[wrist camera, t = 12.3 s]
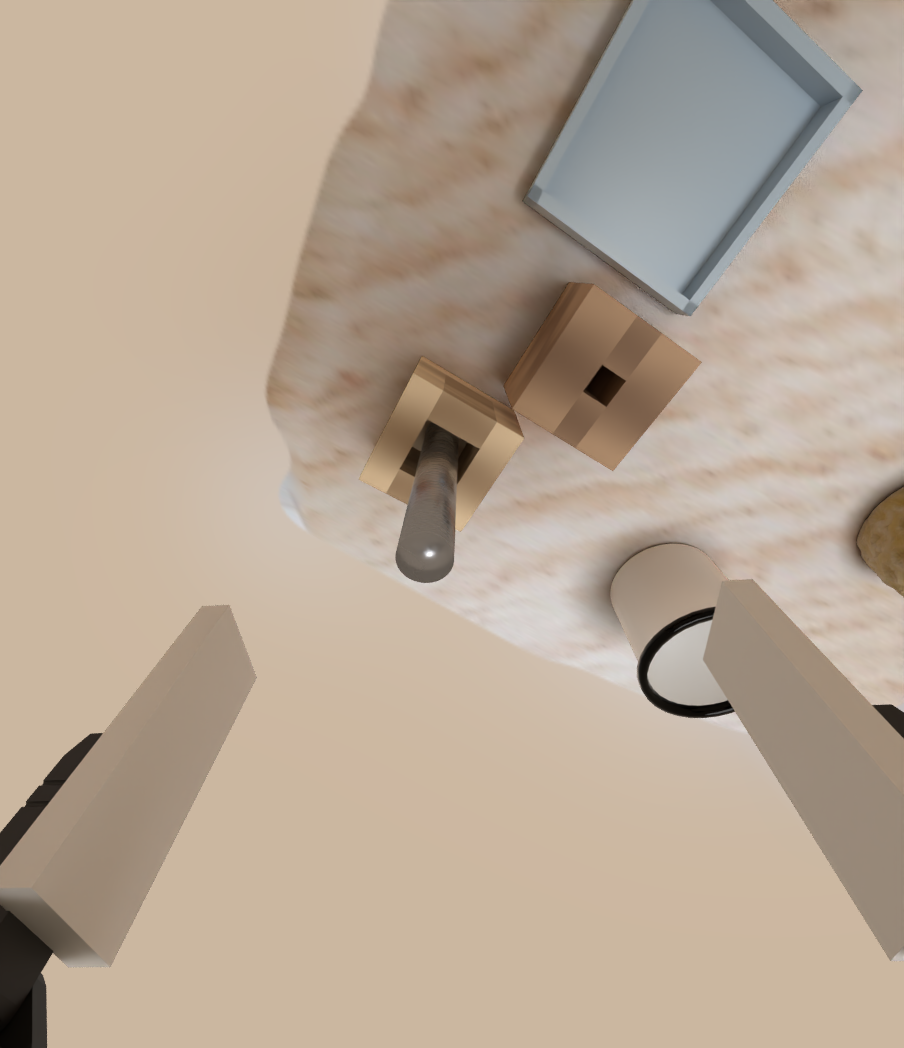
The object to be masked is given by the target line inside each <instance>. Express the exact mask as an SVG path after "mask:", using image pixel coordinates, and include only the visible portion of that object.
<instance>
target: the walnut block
mask: <svg viewBox="0 0 904 1048" xmlns="http://www.w3.org/2000/svg"><path fill="white" fill-rule="evenodd" d="M701 363H702V362H701V361H699V360H698V359H697V358H695V357H694V356H692V355H691V354H690V353H688V352H687V351H686V350H684V349H683V348H681V347H680V346H679V345H677V344H676V343H675V342H673V341H672V340H670V339H669V338H668V337H666V336H665V335H663V334H662V333H661V332H659V331H658V330H657V329H655V328H654V327H652V326H651V325H650V324H648V323H647V322H646V321H644V320H643V319H641V318H640V317H639V316H637V315H636V314H635V313H633V312H632V311H630V310H629V309H628V308H626V307H625V306H623V305H622V304H621V303H619V302H618V301H617V300H615V299H614V298H612V297H611V296H610V295H608V294H607V293H606V292H604V291H603V290H601V289H600V288H599V287H597V286H596V285H594V284H585V283H573V282H569V283H568V285H567V286H566V288H565V290H564V291H563V293H562V294H561V296H560V297H559V299H558V301H557V302H556V304H555V305H554V307H553V309H552V310H551V312H550V313H549V315H548V316H547V318H546V320H545V321H544V323H543V324H542V326H541V327H540V329H539V331H538V332H537V334H536V335H535V337H534V339H533V340H532V342H531V343H530V345H529V346H528V348H527V350H526V351H525V353H524V354H523V356H522V357H521V359H520V361H519V362H518V364H517V365H516V367H515V369H514V370H513V372H512V373H511V375H510V376H509V378H508V380H507V381H506V383H505V384H504V389H505V391H506V394H507V397H508V399H509V402H510V405H511V407H512V409H513V410H514V411H516V412H518V413H519V414H521V415H523V416H524V417H526V418H527V419H529V420H531V421H532V422H534V423H536V424H537V425H539V426H540V427H542V428H544V429H545V430H547V431H549V432H550V433H552V434H553V435H555V436H557V437H558V438H560V439H562V440H563V441H565V442H566V443H568V444H570V445H571V446H573V447H574V448H576V449H578V450H579V451H581V452H583V453H584V454H586V455H587V456H589V457H591V458H592V459H594V460H596V461H597V462H599V463H600V464H602V465H604V466H605V467H607V468H609V469H610V470H612V471H613V470H614V469H615V468H616V467H617V465H618V464H619V463H620V462H621V461H622V459H623V458H624V457H625V456H626V454H627V453H628V452H629V451H630V449H631V448H632V447H633V446H634V445H635V443H636V442H637V441H638V440H639V438H640V437H641V436H642V435H643V434H644V432H645V431H646V430H647V429H648V427H649V426H650V425H651V424H652V423H653V421H654V420H655V419H656V418H657V416H658V415H659V414H660V413H661V412H662V410H663V409H664V408H665V407H666V405H667V404H668V403H669V402H670V401H671V399H672V398H673V397H674V396H675V394H676V393H677V392H678V391H679V389H680V388H681V387H682V386H683V385H684V383H685V382H686V381H687V380H688V378H689V377H690V376H691V375H692V374H693V372H694V371H695V370H696V369H697V367H698V366H699V365H700V364H701Z"/></svg>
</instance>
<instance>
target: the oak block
mask: <svg viewBox="0 0 904 1048" xmlns="http://www.w3.org/2000/svg"><path fill="white" fill-rule="evenodd" d="M431 422H433V423H435V424H436V425H438V426H440V427H442V428H444V429H445V430H447V431H449V432H451V433H452V434H454V435H456V436H458V437H459V444H458V469H457V495H456V520H455V529H456V530H458V531H460V532H461V531H462V529H463V528H464V527H465V525H466V524H467V522H468V521H469V519H470V518H471V516H472V515H473V513H474V512H475V510H476V509H477V507H478V506H479V504H480V503H481V501H482V500H483V498H484V497H485V495H486V494H487V492H488V491H489V489H490V488H491V486H492V485H493V483H494V482H495V481H496V479H497V478H498V476H499V475H500V473H501V472H502V470H503V469H504V467H505V466H506V464H507V463H508V461H509V460H510V458H511V457H512V455H513V454H514V452H515V451H516V449H517V448H518V446H519V445H520V443H521V442H522V440H523V439H524V436H523V434H522V431H521V428H520V425H519V423H518V420H517V417H516V415H515V412H514V410H512V409H510V408H509V407H507V406H505V405H504V404H502V403H500V402H499V401H497V400H495V399H494V398H492V397H490V396H489V395H487V394H485V393H484V392H482V391H480V390H479V389H477V388H475V387H474V386H472V385H470V384H469V383H467V382H465V381H464V380H462V379H460V378H459V377H457V376H455V375H453V374H452V373H450V372H448V371H447V370H445V369H443V368H442V367H440V366H438V365H437V364H435V363H433V362H432V361H430V360H428V359H427V358H425V357H423V356H422V357H421V359H420V361H419V363H418V364H417V366H416V368H415V370H414V372H413V374H412V376H411V378H410V380H409V382H408V384H407V386H406V388H405V390H404V392H403V394H402V395H401V397H400V399H399V401H398V403H397V405H396V407H395V409H394V411H393V413H392V415H391V417H390V419H389V421H388V423H387V424H386V426H385V428H384V430H383V432H382V434H381V436H380V438H379V440H378V442H377V444H376V446H375V448H374V450H373V452H372V454H371V456H370V458H369V460H368V462H367V464H366V466H365V468H364V469H363V471H362V473H361V475H360V477H359V480H361V481H363V482H365V483H367V484H369V485H371V486H372V487H374V488H376V489H378V490H380V491H382V492H384V493H386V494H388V495H390V496H392V497H394V498H396V499H398V500H400V501H402V502H404V503H406V504H408V502H409V498H410V494H411V490H412V485H413V481H414V477H415V473H416V469H417V465H418V461H419V457H420V453H421V449H422V445H423V441H424V436H425V432H426V429H427V427H428V425H429V424H430V423H431Z"/></svg>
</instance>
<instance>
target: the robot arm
mask: <svg viewBox="0 0 904 1048" xmlns="http://www.w3.org/2000/svg"><path fill="white" fill-rule="evenodd" d="M703 661H704V662H705V664H706V666H707V667H708V669H709V670H710V672H711V674H712V675H713V677H714V678H715V680H716V682H717V683H718V685H719V686H720V688H721V690H722V691H723V693H724V695H725V696H726V698H727V699H728V701H729V703H730V704H731V706H732V707H733V709H734V711H735V712H736V714H737V715H738V717H739V719H740V720H741V722H742V723H743V725H744V727H745V728H746V730H747V731H748V733H749V735H750V736H751V738H752V739H753V741H754V743H755V744H756V746H757V747H758V749H759V751H760V752H761V754H762V755H763V757H764V759H765V760H766V762H767V764H768V765H769V767H770V768H771V770H772V771H773V773H774V775H775V776H776V778H777V779H778V781H779V783H780V784H781V786H782V788H783V789H784V791H785V792H786V794H787V796H788V797H789V799H790V800H791V802H792V804H793V805H794V807H795V808H796V810H797V812H798V813H799V815H800V816H801V818H802V820H803V821H804V823H805V825H806V826H807V828H808V829H809V831H810V833H811V834H812V836H813V837H814V839H815V841H816V842H817V844H818V845H819V847H820V849H821V850H822V852H823V853H824V855H825V856H826V858H827V860H828V861H829V863H830V865H831V866H832V868H833V869H834V871H835V873H836V874H837V876H838V877H839V879H840V881H841V882H842V884H843V885H844V887H845V889H846V890H847V892H848V894H849V895H850V897H851V898H852V900H853V902H854V903H855V905H856V906H857V908H858V910H859V911H860V913H861V914H862V916H863V917H864V919H865V921H866V922H867V924H868V926H869V927H870V929H871V931H872V932H873V934H874V935H875V937H876V939H877V940H878V942H879V943H880V945H881V947H882V948H883V950H884V951H885V953H886V955H887V956H888V958H889V959H890V961H904V712H902V711H901V710H899V709H898V708H896V707H895V706H893V705H871V704H870V703H869V702H868V701H867V700H866V698H865V697H864V696H863V695H862V694H861V693H860V692H859V691H858V690H857V689H856V688H855V687H854V686H853V685H852V684H851V683H850V682H849V681H848V680H847V678H846V677H845V676H844V675H843V674H842V673H841V672H840V671H839V670H838V669H837V668H836V667H835V666H834V665H833V664H832V663H831V662H830V661H829V659H828V658H827V657H826V656H825V655H824V654H823V653H822V652H821V651H820V650H819V649H818V648H817V647H816V646H815V645H814V644H813V643H812V642H811V640H810V639H809V638H808V637H807V636H806V635H805V634H804V633H803V632H802V631H801V630H800V629H799V628H798V627H797V626H796V625H795V624H794V623H793V621H792V620H791V619H790V618H789V617H788V616H787V615H786V614H785V613H784V612H783V611H782V610H781V609H780V608H779V607H778V606H777V605H776V604H775V603H774V601H773V600H772V599H771V598H770V597H769V596H768V595H767V594H766V593H765V592H764V591H763V590H762V589H761V588H760V587H759V586H758V585H757V584H756V582H755V581H754V580H753V579H751V580H730V581H722V583H721V588H720V592H719V596H718V600H717V604H716V608H715V612H714V616H713V620H712V624H711V628H710V632H709V636H708V640H707V644H706V648H705V652H704V656H703ZM256 678H257V677H256V674H255V672H254V669H253V666H252V664H251V661H250V658H249V656H248V653H247V651H246V648H245V645H244V643H243V640H242V637H241V635H240V632H239V629H238V627H237V624H236V621H235V619H234V616H233V614H232V611H231V608H230V606H229V605H217V606H202V607H201V608H200V609H199V611H198V612H197V613H196V615H195V616H194V617H193V619H192V620H191V621H190V622H189V624H188V625H187V626H186V627H185V629H184V630H183V631H182V633H181V634H180V635H179V636H178V638H177V639H176V640H175V642H174V643H173V644H172V645H171V647H170V648H169V649H168V651H167V652H166V653H165V654H164V656H163V657H162V658H161V660H160V661H159V662H158V663H157V665H156V666H155V667H154V669H153V670H152V671H151V672H150V674H149V675H148V676H147V678H146V679H145V680H144V682H143V683H142V684H141V685H140V687H139V688H138V689H137V690H136V692H135V693H134V694H133V696H132V697H131V698H130V699H129V701H128V702H127V703H126V705H125V706H124V707H123V709H122V710H121V711H120V712H119V714H118V715H117V716H116V718H115V719H114V720H113V721H112V723H111V724H110V725H109V727H108V728H107V729H106V730H105V732H104V733H98V734H97V733H96V734H90V735H89V736H87V737H86V738H85V739H84V740H82V742H80V743H79V744H77V745H76V746H75V747H74V748H73V749H71V750H70V751H69V752H68V753H67V754H65V755H64V756H63V757H62V759H61V760H60V761H59V762H58V764H57V765H56V766H55V767H54V768H53V770H52V771H51V772H50V773H49V774H48V776H47V777H46V778H45V779H44V783H43V785H42V786H38V788H37V789H36V790H35V791H34V793H33V794H32V795H31V796H30V797H29V799H28V800H27V801H26V806H25V807H21V808H20V810H19V811H18V812H17V813H16V814H15V816H14V817H13V818H12V819H11V821H10V822H9V823H8V824H7V825H6V827H5V828H4V829H3V830H2V831H1V833H0V1048H47V1019H46V1018H47V1010H46V984H45V981H44V978H43V975H42V974H41V971H42V970H43V968H44V966H45V965H46V963H47V961H48V960H49V958H50V956H51V955H52V953H54V954H55V955H56V956H57V957H58V958H59V959H60V960H61V961H62V962H63V963H64V964H66V965H67V966H68V967H111V965H112V963H113V961H114V959H115V956H116V955H117V953H118V951H119V949H120V947H121V945H122V943H123V941H124V939H125V937H126V935H127V933H128V931H129V929H130V927H131V925H132V923H133V921H134V919H135V917H136V915H137V913H138V911H139V909H140V907H141V905H142V903H143V901H144V899H145V897H146V895H147V894H148V892H149V890H150V887H151V885H152V884H153V882H154V880H155V878H156V876H157V873H158V871H159V870H160V868H161V866H162V864H163V862H164V860H165V858H166V856H167V854H168V852H169V850H170V848H171V846H172V844H173V842H174V840H175V838H176V836H177V834H178V832H179V830H180V828H181V826H182V824H183V822H184V820H185V818H186V816H187V814H188V812H189V810H190V809H191V807H192V804H193V803H194V801H195V798H196V797H197V795H198V793H199V791H200V789H201V787H202V785H203V783H204V781H205V779H206V777H207V775H208V773H209V771H210V769H211V767H212V765H213V763H214V761H215V759H216V757H217V755H218V753H219V751H220V749H221V747H222V745H223V743H224V741H225V739H226V737H227V735H228V733H229V731H230V729H231V727H232V725H233V724H234V722H235V719H236V717H237V716H238V714H239V712H240V710H241V708H242V706H243V703H244V702H245V700H246V698H247V696H248V694H249V692H250V690H251V688H252V686H253V684H254V682H255V680H256Z"/></svg>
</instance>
